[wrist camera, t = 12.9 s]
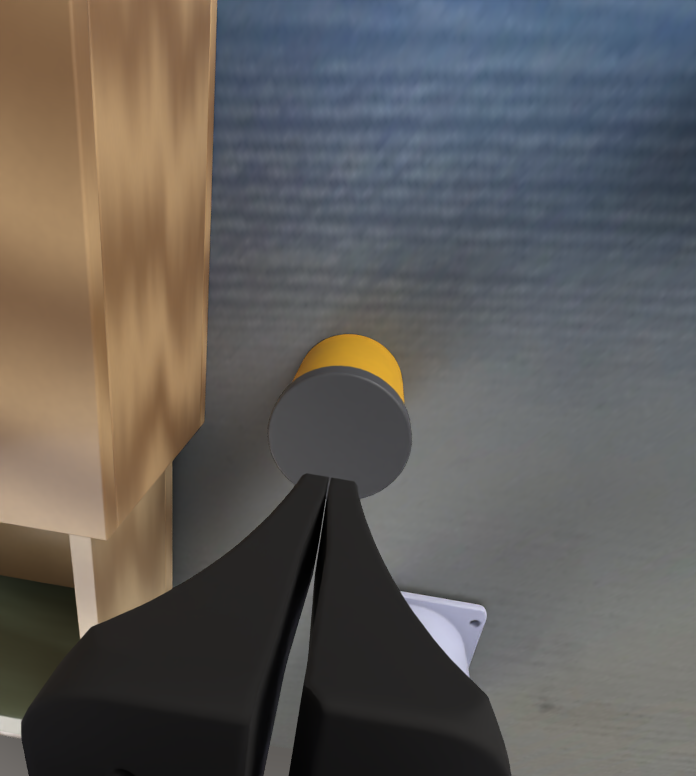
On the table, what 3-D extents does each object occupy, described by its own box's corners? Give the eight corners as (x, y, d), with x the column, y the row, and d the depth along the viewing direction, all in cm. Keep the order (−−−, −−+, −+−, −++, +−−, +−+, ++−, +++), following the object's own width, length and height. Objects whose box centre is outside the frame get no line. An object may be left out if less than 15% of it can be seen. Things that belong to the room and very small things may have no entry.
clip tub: (289, 424, 21) (261, 489, 17) (300, 321, 19) (273, 361, 15) (394, 441, 21) (397, 512, 16) (416, 340, 19) (425, 386, 15)
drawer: (182, 673, 27) (123, 809, 21) (-17, 638, 27) (-132, 763, 21) (186, 364, 20) (97, 437, 14) (-88, 318, 20) (-296, 371, 14)
